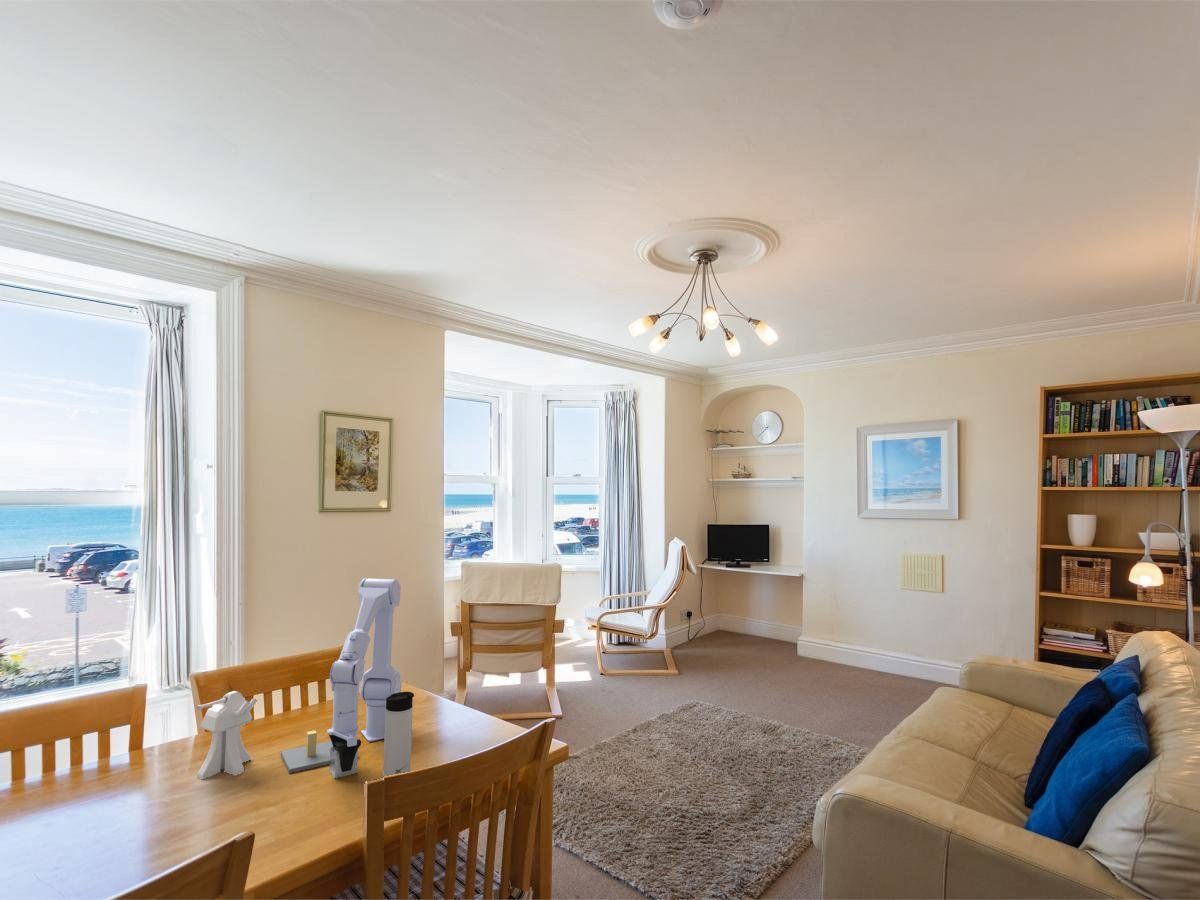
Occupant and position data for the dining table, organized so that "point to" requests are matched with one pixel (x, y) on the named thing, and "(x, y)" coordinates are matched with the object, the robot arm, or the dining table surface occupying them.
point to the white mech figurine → (226, 734)
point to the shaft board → (306, 762)
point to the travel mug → (398, 733)
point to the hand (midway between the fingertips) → (343, 766)
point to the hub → (335, 764)
